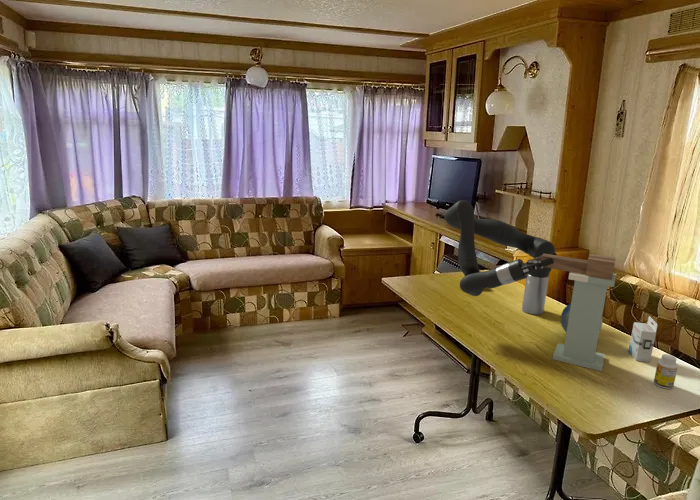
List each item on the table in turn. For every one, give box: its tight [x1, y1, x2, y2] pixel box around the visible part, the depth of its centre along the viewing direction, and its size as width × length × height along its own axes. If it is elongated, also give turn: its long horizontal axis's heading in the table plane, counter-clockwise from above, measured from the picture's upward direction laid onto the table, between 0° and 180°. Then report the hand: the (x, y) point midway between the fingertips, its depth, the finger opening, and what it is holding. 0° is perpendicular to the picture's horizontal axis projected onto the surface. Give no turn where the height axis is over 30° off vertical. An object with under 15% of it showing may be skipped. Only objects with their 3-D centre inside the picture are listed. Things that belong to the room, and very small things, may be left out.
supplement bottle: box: [653, 353, 679, 390], centre depth 160 cm, size 6×6×10 cm
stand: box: [552, 272, 617, 372], centre depth 174 cm, size 12×16×32 cm
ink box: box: [628, 316, 658, 363], centre depth 179 cm, size 9×5×15 cm, turn 168°
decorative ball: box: [560, 303, 603, 333], centre depth 194 cm, size 15×15×15 cm
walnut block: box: [541, 253, 617, 280], centre depth 171 cm, size 8×23×6 cm, turn 60°
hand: (554, 257), depth 175 cm, fingers open, 8 cm apart
